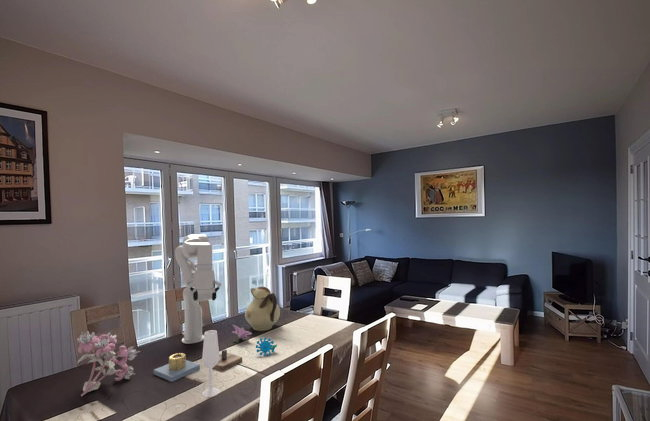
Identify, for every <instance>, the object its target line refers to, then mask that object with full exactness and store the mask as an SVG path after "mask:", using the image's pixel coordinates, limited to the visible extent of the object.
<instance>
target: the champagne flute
mask: <svg viewBox="0 0 650 421" xmlns="http://www.w3.org/2000/svg"><path fill="white" fill-rule="evenodd" d="M203 335H204V340H203V346H202V354H201V355H202V356H201V357H202V358H201V362H202V365H204V366H205V368H207V369H208V370H209V374H208V375H209V376H208V377H209V380H208V381H209V382H208V384H209V385H208V386H209V387H208V388H206V390H204V391H202V394H201V395H202V397H203V398H210V397H215V396H217V395H218V394H219V393H220V391H221V390H220V389H219V388H217V387H214V386H213V369H214V368H213V367H214V366H215V365H216V364H217V363H218V361H219V359H220V357H219V355H220V349H219V348H220V347H219V340H218V339H219V337H218V332H217V330H215V329H211V330H207V331H205V332H204V334H203Z"/></svg>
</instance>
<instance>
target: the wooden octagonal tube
mask: <svg viewBox="0 0 650 421" xmlns="http://www.w3.org/2000/svg"><path fill="white" fill-rule="evenodd" d="M176 356H180V357H178V358H174V357H176ZM186 356H187V355H186V353H184V352H178V353H177V352H176V353H174V354H171V355H170V356H169V357H168V364H169V369H170V370H180V369H183V368H184V367H185V366H186V360H187V359H186V358H187V357H186Z"/></svg>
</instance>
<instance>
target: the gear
mask: <svg viewBox="0 0 650 421" xmlns="http://www.w3.org/2000/svg"><path fill="white" fill-rule="evenodd" d="M267 338H268V337H267V336H264V338H263V337H261V338H259V340H257V341H256V344H255V349H256V352H257V353H259V356H262V355H263V357H267V356H272V353H274V352H275V349H276V348H277V346H278V344H274V343H275V341H274V340H272V339H271V337H269V338H268V339H267Z"/></svg>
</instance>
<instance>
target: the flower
mask: <svg viewBox="0 0 650 421" xmlns="http://www.w3.org/2000/svg"><path fill="white" fill-rule="evenodd" d="M77 342H78V343H79V345H78V348H77V351H78V353H80V354H82V353H83V352H85V353H86V354H83V355H82V356H81V357H80V358H79V359H78V360H77V364H79V363H80V362H82V361H84V360H85V359H87V358H88V359H90V360H88V362H87V364H90V363H93V366H92V369H91V372H90V376H89V379H88V381H85V382H84V384H83V387H82V393H81V394H80V396H81V397H83V396H84V395H86V394H87V393H89V392H92V391H96V390H99V388H100V386H101V384H102V383H101V382H100V381H102V380H103V379H104V378H105V377H107V376H111V375H114V374H115V375H116V376H117V377H114V380H115V381H121V380H122V379H123V378H124V379H125V380H130V378H131V376H133V375H136V373H134V371H135V368H133V366H130V365H128V364H127V361H133V360H135V358H136V357H138V355H137V353H140V352H141V350H139V351H138V350H137V349H136V348H134V347H135V345H134V346H133V345H132V346H129V347H128V348H127V346H125V345H120V346H119V347H118V349H119V350H118V351H117V352H115V351H114V350H115V349H116V344H117V342H118V340H117V334H114V335H112V334H111V332H108V333H106V334H101V335H99V336H97V335H95V332H93V331H92V332H91V334H90V332H89V330H87V331H86V332H84V333H83V331H81V333H80V334H79V337H78V338H77ZM95 349H96V351H95ZM90 352H92V353H91V354H90ZM88 353H89V354H88ZM101 357H103V359H104V360H103V359H102V358H101ZM119 357H120V358H122V359H121V360H119V359H117V358H119ZM97 362H98V363H99V364H100V366H97V367H96V365H97ZM116 365H118V366H120V368H119V369H115V366H116ZM105 367H107V368H108V369H106V368H105ZM121 368H122V369H121ZM96 371H99V372H98V373H97V374H96V376H94V373H95V372H96ZM101 373H102V374H103V376H101V377H100V378H99V376H100V375H101ZM93 376H94V378H93ZM98 378H99V379H98ZM97 379H98V380H97Z"/></svg>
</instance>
